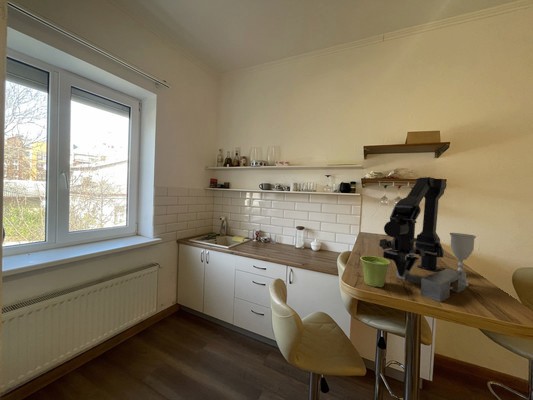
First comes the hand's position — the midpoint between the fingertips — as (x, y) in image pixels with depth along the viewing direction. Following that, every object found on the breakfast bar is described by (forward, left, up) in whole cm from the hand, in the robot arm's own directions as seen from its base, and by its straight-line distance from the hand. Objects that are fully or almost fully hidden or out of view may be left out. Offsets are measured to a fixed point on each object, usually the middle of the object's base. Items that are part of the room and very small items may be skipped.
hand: (403, 275), depth 80 cm
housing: (0, +13, -1) cm, 13 cm away
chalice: (-15, +12, -1) cm, 19 cm away
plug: (0, +6, -1) cm, 6 cm away
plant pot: (+16, -2, -1) cm, 16 cm away
